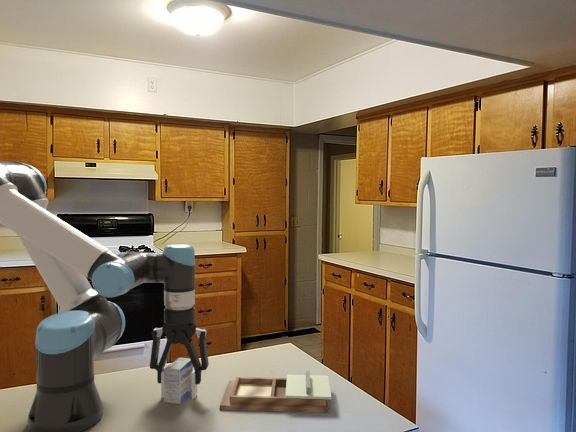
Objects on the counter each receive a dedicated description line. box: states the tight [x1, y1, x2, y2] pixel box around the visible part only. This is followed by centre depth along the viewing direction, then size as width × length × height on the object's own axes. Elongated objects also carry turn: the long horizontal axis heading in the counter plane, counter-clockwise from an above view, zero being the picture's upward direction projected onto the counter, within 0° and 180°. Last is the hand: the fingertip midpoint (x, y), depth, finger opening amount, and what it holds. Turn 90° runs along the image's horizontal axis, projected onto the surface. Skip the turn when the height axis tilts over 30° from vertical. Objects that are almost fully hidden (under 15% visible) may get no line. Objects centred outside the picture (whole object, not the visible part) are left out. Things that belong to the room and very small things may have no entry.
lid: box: [285, 370, 332, 400], centre depth 113 cm, size 11×12×2 cm
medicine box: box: [163, 357, 194, 405], centre depth 112 cm, size 8×4×9 cm, turn 168°
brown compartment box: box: [219, 376, 329, 414], centre depth 113 cm, size 26×14×3 cm, turn 88°
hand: (179, 395), depth 113 cm, fingers open, 7 cm apart
